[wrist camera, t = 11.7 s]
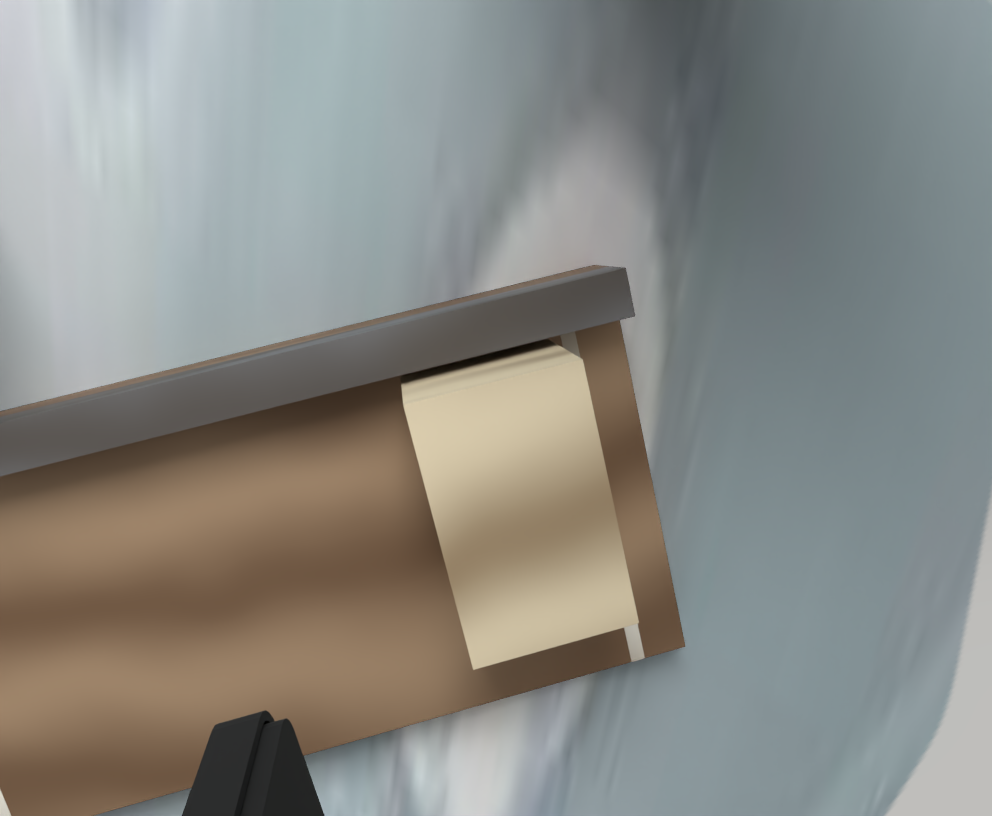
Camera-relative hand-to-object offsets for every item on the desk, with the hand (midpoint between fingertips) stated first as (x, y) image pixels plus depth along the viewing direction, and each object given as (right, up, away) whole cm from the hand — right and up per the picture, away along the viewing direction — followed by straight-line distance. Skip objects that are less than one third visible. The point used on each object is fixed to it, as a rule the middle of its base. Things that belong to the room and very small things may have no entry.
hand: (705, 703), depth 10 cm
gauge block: (-2, +1, +19) cm, 19 cm away
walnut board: (-10, -1, +20) cm, 22 cm away
